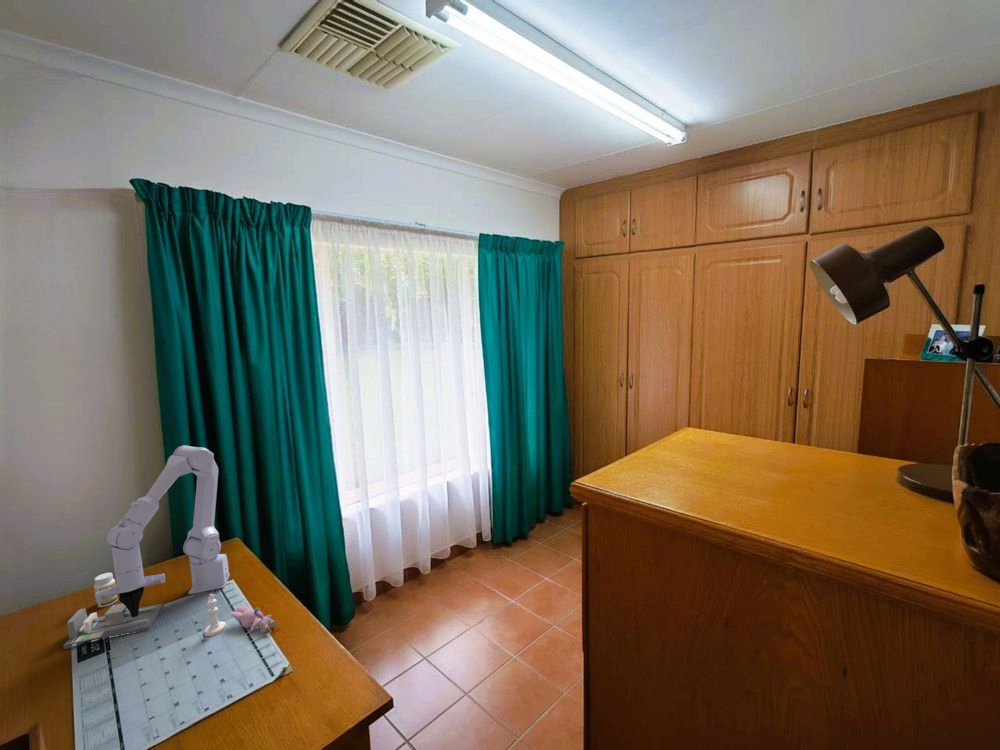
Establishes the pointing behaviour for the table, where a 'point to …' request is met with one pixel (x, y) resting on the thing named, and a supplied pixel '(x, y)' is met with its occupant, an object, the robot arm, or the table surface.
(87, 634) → the gauge base
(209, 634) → the chess piece
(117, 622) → the stepped grey block
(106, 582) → the supplement bottle
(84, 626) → the white narrow bar
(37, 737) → the table surface
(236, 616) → the pink toy animal
